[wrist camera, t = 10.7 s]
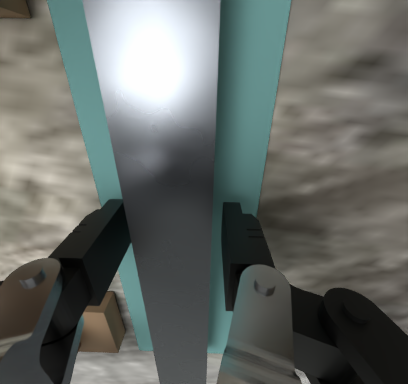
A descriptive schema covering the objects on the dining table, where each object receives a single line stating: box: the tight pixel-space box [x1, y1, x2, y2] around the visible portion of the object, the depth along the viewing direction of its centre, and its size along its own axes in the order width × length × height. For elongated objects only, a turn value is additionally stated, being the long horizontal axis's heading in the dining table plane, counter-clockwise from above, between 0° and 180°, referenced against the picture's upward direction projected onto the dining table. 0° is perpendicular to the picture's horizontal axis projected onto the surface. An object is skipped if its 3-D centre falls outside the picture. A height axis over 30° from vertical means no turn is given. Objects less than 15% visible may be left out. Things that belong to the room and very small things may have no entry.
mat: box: [47, 0, 291, 354], centre depth 11 cm, size 8×29×1 cm, turn 179°
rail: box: [82, 0, 221, 384], centre depth 9 cm, size 3×26×3 cm, turn 179°
